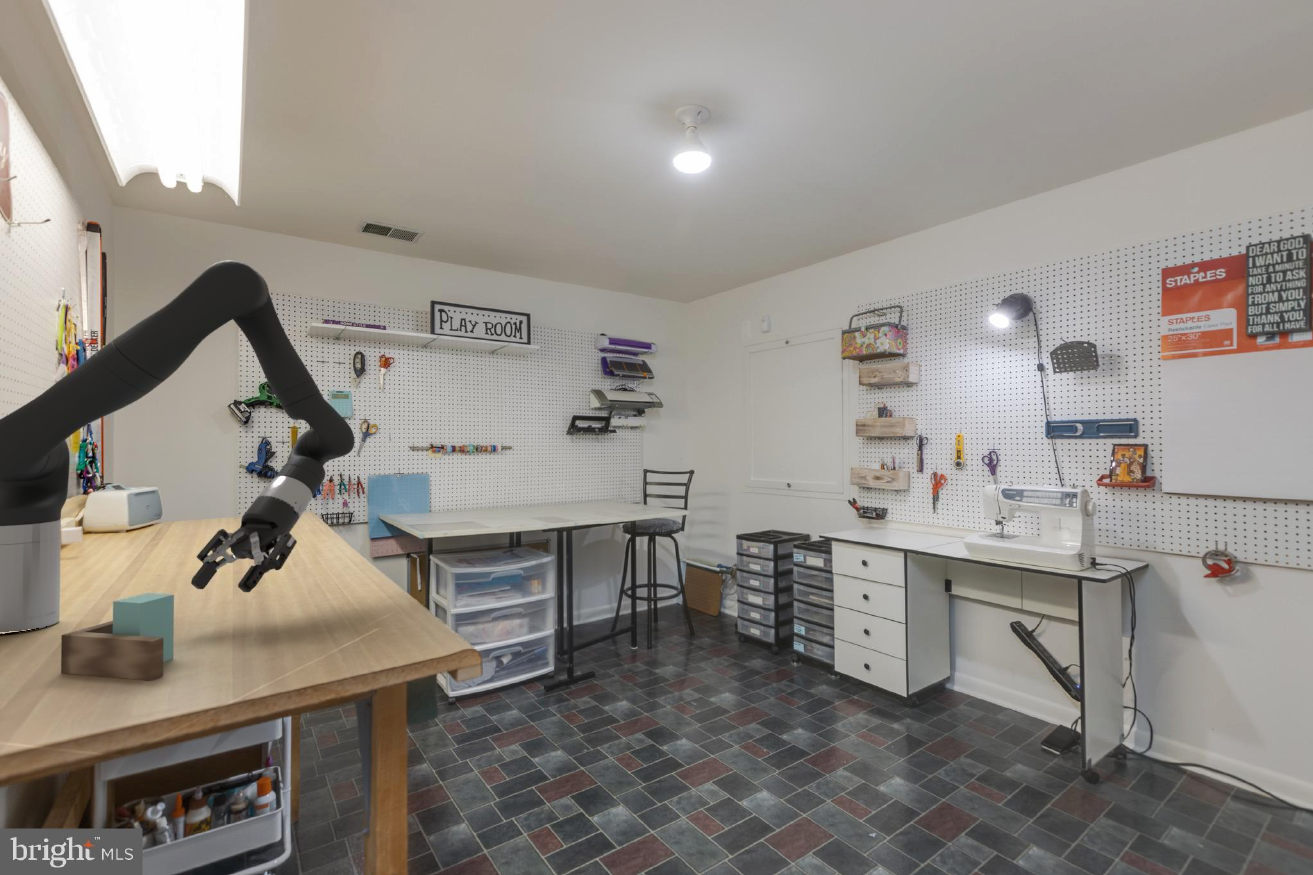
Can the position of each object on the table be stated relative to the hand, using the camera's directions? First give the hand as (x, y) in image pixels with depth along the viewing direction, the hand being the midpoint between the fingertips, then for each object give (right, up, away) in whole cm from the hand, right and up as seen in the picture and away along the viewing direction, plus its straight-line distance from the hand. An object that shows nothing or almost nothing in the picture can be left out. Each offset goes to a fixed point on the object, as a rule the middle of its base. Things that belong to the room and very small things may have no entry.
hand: (219, 588), depth 93 cm
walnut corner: (-2, -7, -12) cm, 14 cm away
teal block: (-2, -7, -12) cm, 14 cm away
